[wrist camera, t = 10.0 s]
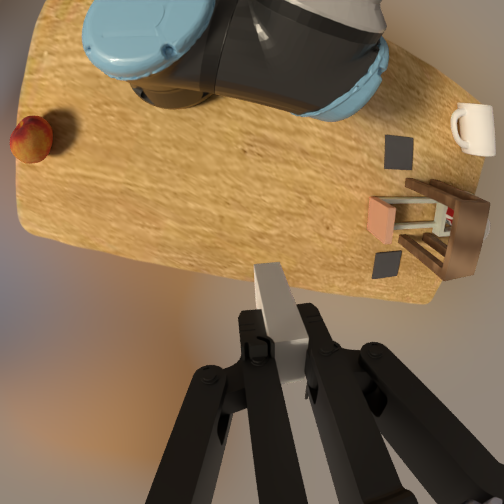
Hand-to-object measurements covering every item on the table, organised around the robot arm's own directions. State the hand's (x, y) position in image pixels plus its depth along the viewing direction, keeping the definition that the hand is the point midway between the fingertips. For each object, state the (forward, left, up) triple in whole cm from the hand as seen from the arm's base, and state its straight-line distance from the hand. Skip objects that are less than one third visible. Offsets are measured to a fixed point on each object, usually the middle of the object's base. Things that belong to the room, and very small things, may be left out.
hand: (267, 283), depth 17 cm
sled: (+6, +35, -29) cm, 46 cm away
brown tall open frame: (+6, +34, -29) cm, 45 cm away
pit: (-5, +28, -29) cm, 41 cm away
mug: (-12, +44, -30) cm, 54 cm away
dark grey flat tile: (+17, +28, -29) cm, 44 cm away
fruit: (-13, -33, -30) cm, 46 cm away
